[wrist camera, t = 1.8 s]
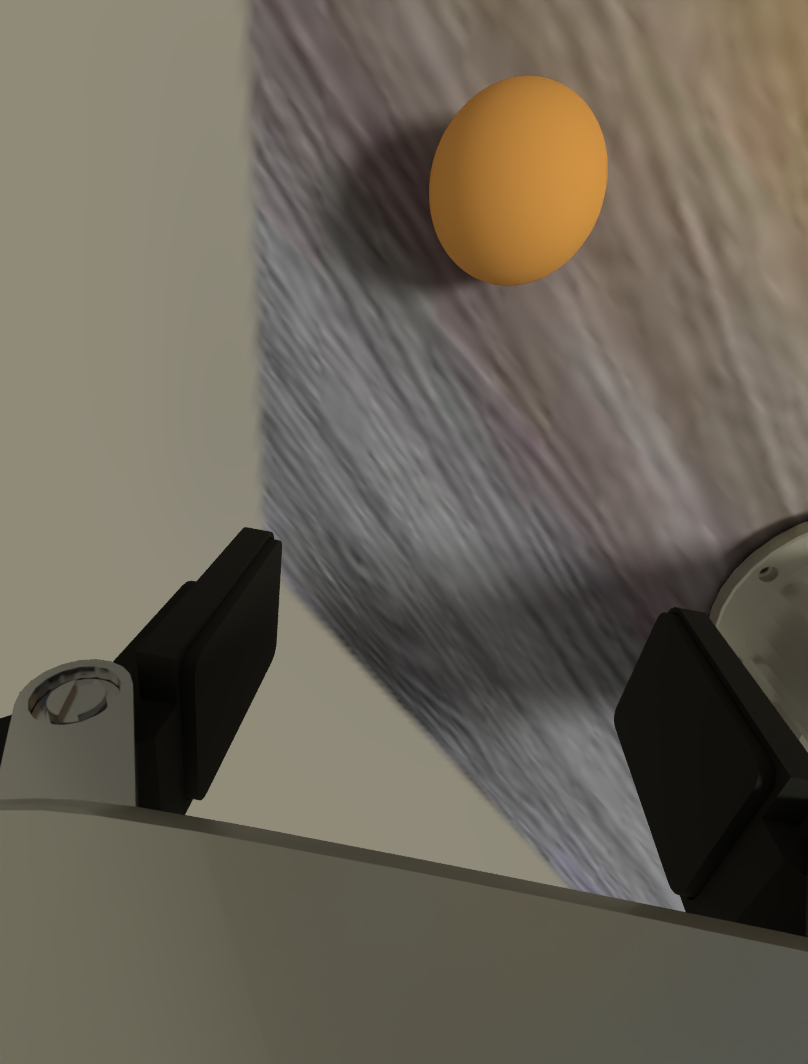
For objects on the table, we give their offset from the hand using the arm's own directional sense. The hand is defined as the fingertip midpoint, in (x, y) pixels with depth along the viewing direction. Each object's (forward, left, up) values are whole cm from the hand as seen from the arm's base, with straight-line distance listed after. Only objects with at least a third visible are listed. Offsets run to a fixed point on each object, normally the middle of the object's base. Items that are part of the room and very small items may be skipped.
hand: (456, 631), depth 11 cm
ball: (+9, -1, -13) cm, 16 cm away
